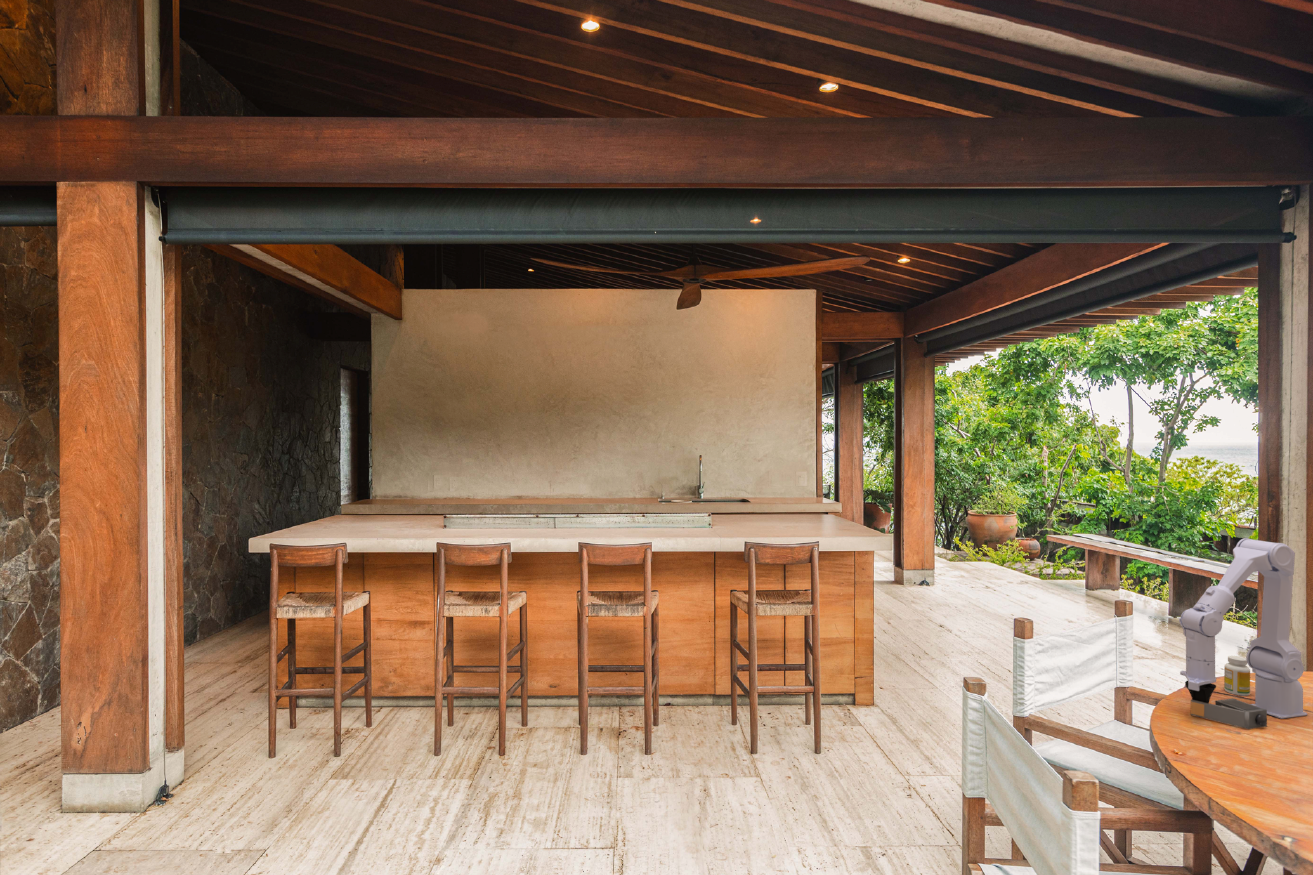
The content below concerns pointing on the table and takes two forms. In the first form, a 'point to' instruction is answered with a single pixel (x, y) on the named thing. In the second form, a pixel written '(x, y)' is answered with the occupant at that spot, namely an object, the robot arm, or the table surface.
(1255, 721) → the camera body
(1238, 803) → the table surface
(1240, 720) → the side door
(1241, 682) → the supplement bottle
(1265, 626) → the robot arm
